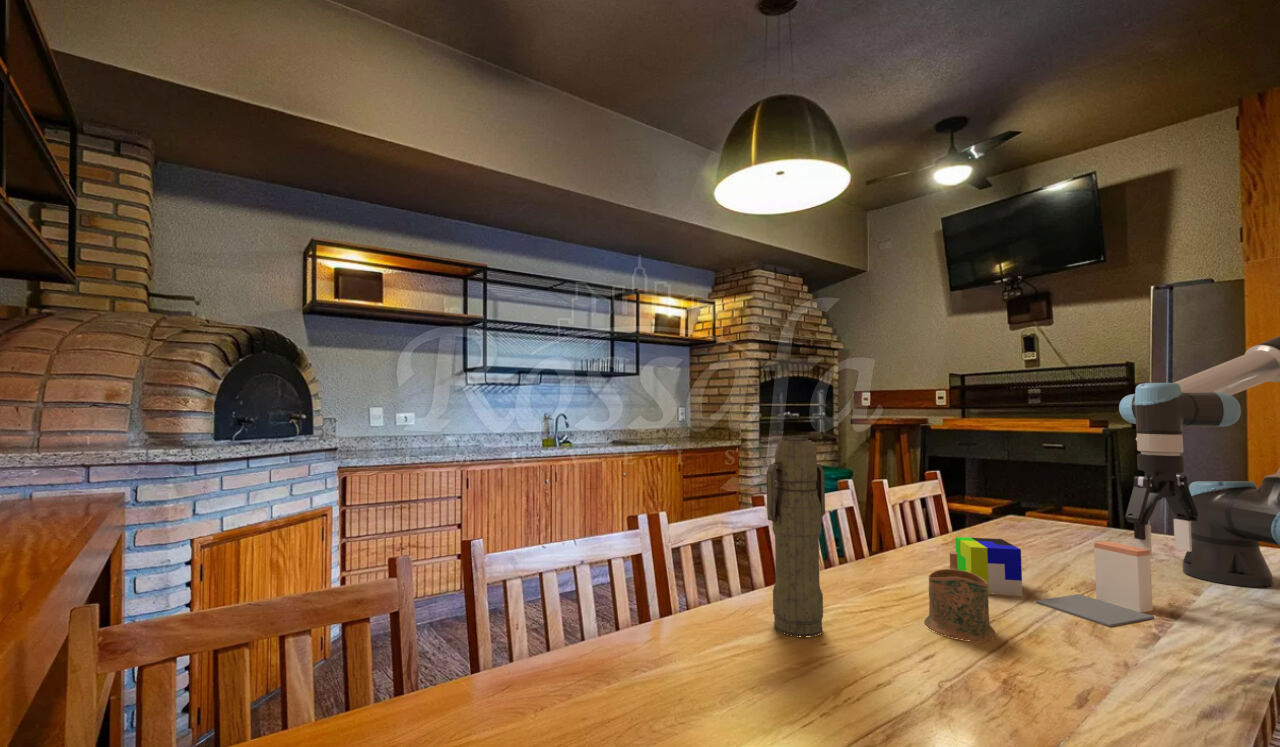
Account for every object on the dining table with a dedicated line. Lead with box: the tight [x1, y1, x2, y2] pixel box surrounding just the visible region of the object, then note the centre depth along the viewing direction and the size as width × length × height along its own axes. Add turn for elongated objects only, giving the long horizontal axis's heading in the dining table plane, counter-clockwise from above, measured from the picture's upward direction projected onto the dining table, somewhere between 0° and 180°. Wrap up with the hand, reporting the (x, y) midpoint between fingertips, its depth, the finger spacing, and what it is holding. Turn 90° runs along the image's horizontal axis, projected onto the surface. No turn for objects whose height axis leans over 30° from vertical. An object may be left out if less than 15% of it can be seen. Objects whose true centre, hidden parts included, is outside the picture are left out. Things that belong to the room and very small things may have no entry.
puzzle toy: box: [955, 536, 1023, 596], centre depth 131 cm, size 10×10×10 cm
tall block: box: [1093, 540, 1154, 613], centre depth 120 cm, size 4×8×12 cm, turn 20°
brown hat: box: [923, 550, 997, 642], centre depth 110 cm, size 12×18×12 cm, turn 155°
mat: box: [1035, 593, 1155, 628], centre depth 116 cm, size 13×14×1 cm
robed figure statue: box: [766, 437, 826, 638], centre depth 108 cm, size 9×12×35 cm
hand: (1163, 552), depth 124 cm, fingers open, 13 cm apart
